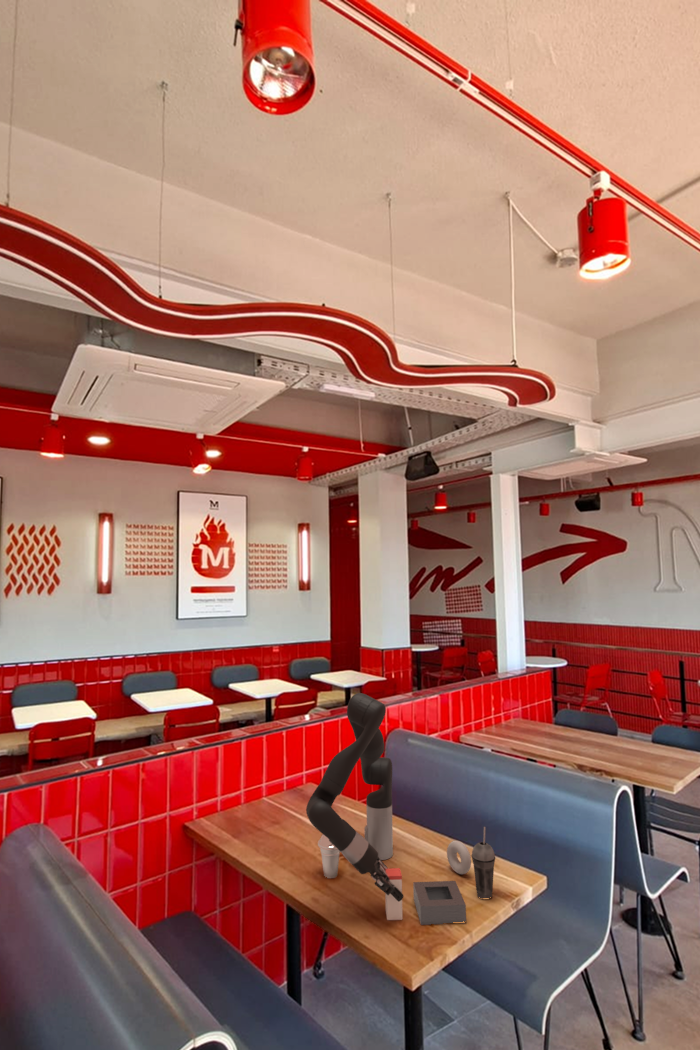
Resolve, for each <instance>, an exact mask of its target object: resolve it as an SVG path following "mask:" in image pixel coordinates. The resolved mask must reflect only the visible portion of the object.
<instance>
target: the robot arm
mask: <svg viewBox="0 0 700 1050" xmlns="http://www.w3.org/2000/svg"><path fill="white" fill-rule="evenodd" d="M386 710H387V709H386V705H385V703H383V702H381V701H379V700H377V699H375V698H373V697H372V696H370V695H367V694H366V693H361V692H358V693H355V694H353V695H352V696H351V697H350V698H349V700H348V704H347V708H346V715H347V720H348V722H349V723H350V726H351V728H352V731H353V734H354V738H355V741H354V742H352V743H351V744H349V745H348V746H346V747H345V748H344V749H342V750H341V751H339V752H338V753H337V754H335V756H334V757H333V758H332V759H331V760H330V762H329V764H328V766H327V768H326V770H325V771H324V774H323V776H322V779H321V780H320V782H319V784H318V786H317V787H316V788H315V790H314V791H313V793H312V795H311V797H310V798H309V800H308V802H307V804H306V807H305V808H306V809H305V811H306V812H305V813H306V816H307V819H308V820H309V822H310V824H311V825H312V826H313V827H314V828H316V830H317V831H319V832H320V833H321V835H325V836H326V837H327V838H328V839H329V840H330V841H331V842H332V844H333V845H334V846H335V847H336V848H337V849H338V850H339V851H340V853H341V855H343V857H344V858H345V859H346V860H347V861H348V862H349V863H350V864H351V865H352V866H353V867H354V868H355V869H356V870H357V872H359V873H360V874H361V875H366V874H368V873H369V874H370V878H372V880H373V881H374V885H375V886H376V887H378V889H380V890H381V891H382V892H383V893H384V894H385V893H386V894H387V895H389V894H391V895H392V896H393V897H394V898H395V899H396V900H397V901H398V902H399V901H401V900H402V901H403V898H404V897H405V896H404V893H403V892H402V893H401V892H400V891H399V890H398V889H397V888H396V887H395V885H394V884H393V883H392V882H391V881H390V878H389V877H388V874H387V873H386V872H385V870H387V869H389V868H388V866H387V865H386V864H385V863H384V861H385V860H389V859H390V858H392V857H393V855H394V852H393V851H394V850H393V849H394V847H393V846H394V845H393V840H394V839H393V835H394V834H393V763H392V762H393V761H392V760H391V758H390V757H383V756H382V755H383V754H384V751H385V741H384V735H383V733H382V731H381V729H380V727H381V725H382V723H383V721H384V719H385V715H386ZM359 760H360V765H361V766H360V768H361V775H362V779H363V780H362V781H363V782H364V783H365V784H367V785H373V786H374V785H375V786H382V787H380V788H379V789H377V790H374V791H372V792H369V793H368V794H367V795H366V799H365V800H366V803H365V804H366V824H365V826H364V835H362V834H360V833H359V832H358V831H357V830H355V828H354V827H352V826H351V824H349V823H348V822H347V820H345V819H343V818H342V817H341V816H340V815H339V814H338V813H337V812H336V811H335V810H334V809H333V807H332V806H333V804H334V802H335V800H336V799H337V797H338V796H340V795H341V793H342V792H343V790H344V788H345V787H346V784H347V782H348V780H349V778H350V776H351V774H352V772H353V770H354V768H355V767H356V765H357V762H358V761H359ZM385 878H387V879H386V880H385ZM387 887H389V888H387Z"/></svg>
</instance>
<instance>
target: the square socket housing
mask: <svg viewBox="0 0 700 1050" xmlns="http://www.w3.org/2000/svg"><path fill="white" fill-rule="evenodd" d="M412 885H413V887H412V888H413V902H414V906H415V909H416V913H417V916H418V919H419V920H418V921H419V922H420V923H419V924H420V925H421V926H424V925H425V926H427V925H428V926H431V924H434V925H444V924H443V923H453V922H463V921H464V922H465V921H466V922H467V907H466V906H467V904H466V902H465V901H464V900H465V899H464V897H463V894H462V893H461V891H460V888H459V887H458V883H457V882H456V880H441V881H440V880H439V881H414V882H413V884H412Z"/></svg>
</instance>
